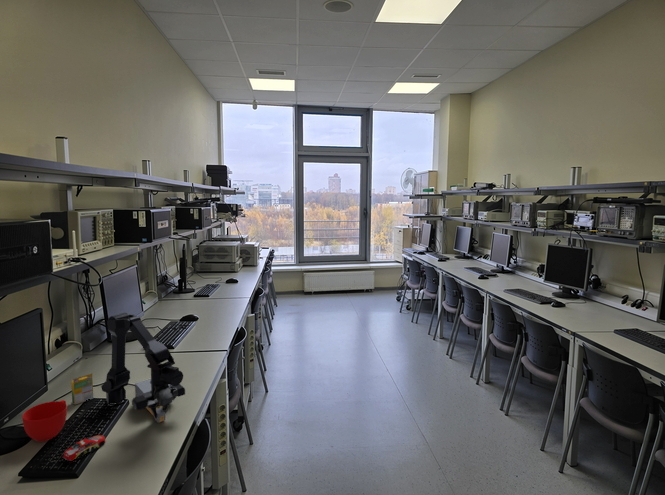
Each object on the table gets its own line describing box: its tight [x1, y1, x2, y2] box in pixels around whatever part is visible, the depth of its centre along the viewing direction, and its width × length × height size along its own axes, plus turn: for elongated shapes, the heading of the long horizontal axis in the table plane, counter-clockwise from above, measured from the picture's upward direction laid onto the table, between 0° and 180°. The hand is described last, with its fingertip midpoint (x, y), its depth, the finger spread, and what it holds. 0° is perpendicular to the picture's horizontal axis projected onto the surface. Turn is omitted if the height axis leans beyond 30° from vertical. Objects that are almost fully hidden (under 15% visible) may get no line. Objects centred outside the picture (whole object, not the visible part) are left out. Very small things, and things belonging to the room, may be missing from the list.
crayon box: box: [70, 373, 94, 406], centre depth 163 cm, size 7×3×12 cm, turn 141°
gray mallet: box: [145, 407, 166, 424], centre depth 155 cm, size 3×15×4 cm, turn 46°
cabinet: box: [134, 378, 172, 403], centre depth 163 cm, size 13×11×9 cm
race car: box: [63, 434, 106, 462], centre depth 132 cm, size 13×5×4 cm, turn 154°
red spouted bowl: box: [21, 399, 68, 443], centre depth 140 cm, size 13×17×10 cm
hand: (159, 416), depth 151 cm, fingers closed on gray mallet, 3 cm apart
